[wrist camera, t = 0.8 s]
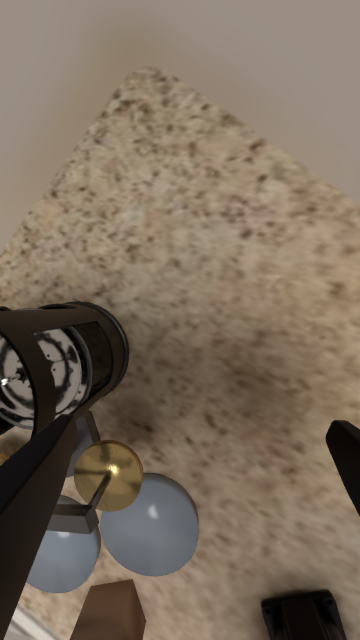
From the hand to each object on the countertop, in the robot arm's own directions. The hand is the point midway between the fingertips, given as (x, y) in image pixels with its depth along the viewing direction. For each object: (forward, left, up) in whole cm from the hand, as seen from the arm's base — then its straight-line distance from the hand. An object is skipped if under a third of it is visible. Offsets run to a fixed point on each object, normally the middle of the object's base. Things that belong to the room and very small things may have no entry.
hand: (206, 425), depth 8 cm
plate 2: (-14, +9, -13) cm, 22 cm away
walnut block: (-22, +15, -13) cm, 30 cm away
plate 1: (-14, +20, -13) cm, 27 cm away
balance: (-5, +14, -13) cm, 20 cm away
